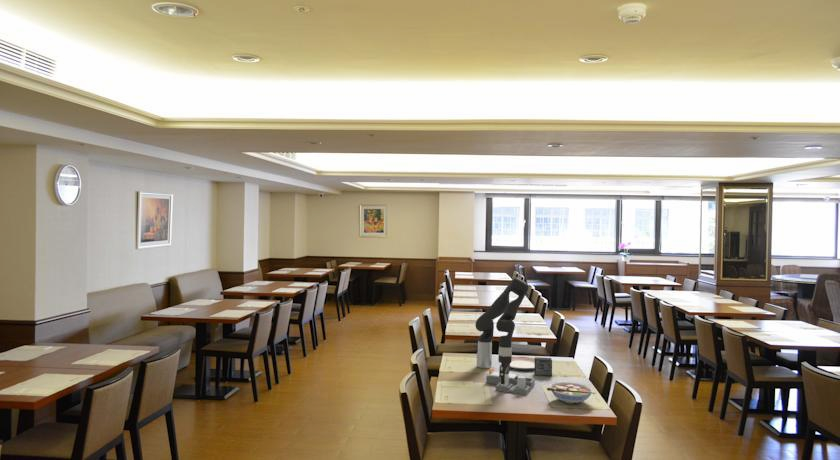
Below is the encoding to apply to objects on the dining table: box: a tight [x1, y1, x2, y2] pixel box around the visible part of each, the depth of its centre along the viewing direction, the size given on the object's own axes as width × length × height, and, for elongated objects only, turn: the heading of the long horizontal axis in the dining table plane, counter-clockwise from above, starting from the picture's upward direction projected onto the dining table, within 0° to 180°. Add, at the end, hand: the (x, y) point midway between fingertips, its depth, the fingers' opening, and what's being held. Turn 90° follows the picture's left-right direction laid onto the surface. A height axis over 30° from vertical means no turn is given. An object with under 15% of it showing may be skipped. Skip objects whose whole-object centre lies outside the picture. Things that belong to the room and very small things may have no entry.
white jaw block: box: [500, 374, 509, 387], centre depth 313 cm, size 4×4×7 cm
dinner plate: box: [510, 356, 535, 371], centre depth 364 cm, size 28×27×3 cm
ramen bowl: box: [546, 381, 597, 404], centre depth 293 cm, size 25×23×8 cm
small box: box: [533, 356, 553, 377], centre depth 344 cm, size 11×6×10 cm, turn 84°
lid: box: [486, 366, 518, 379], centre depth 325 cm, size 16×8×4 cm, turn 66°
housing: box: [485, 375, 535, 396], centre depth 318 cm, size 27×20×8 cm
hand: (504, 382), depth 312 cm, fingers open, 8 cm apart
